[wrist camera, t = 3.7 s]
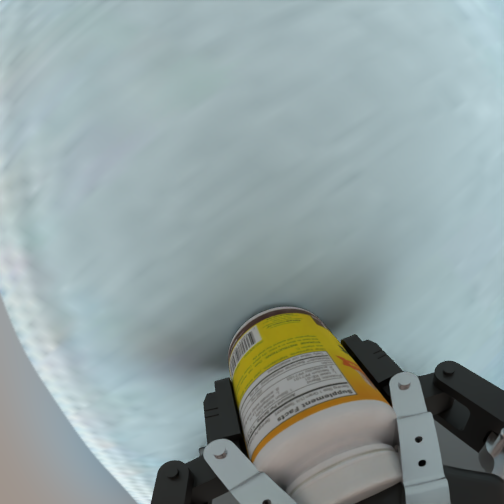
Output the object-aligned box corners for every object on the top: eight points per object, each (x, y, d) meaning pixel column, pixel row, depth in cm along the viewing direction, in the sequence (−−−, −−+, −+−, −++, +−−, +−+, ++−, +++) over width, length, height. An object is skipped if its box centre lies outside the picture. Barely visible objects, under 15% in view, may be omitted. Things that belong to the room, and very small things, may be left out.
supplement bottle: (326, 370, 17) (411, 503, 7) (236, 394, 16) (277, 553, 6) (323, 289, 15) (457, 429, 5) (216, 314, 14) (257, 512, 5)
